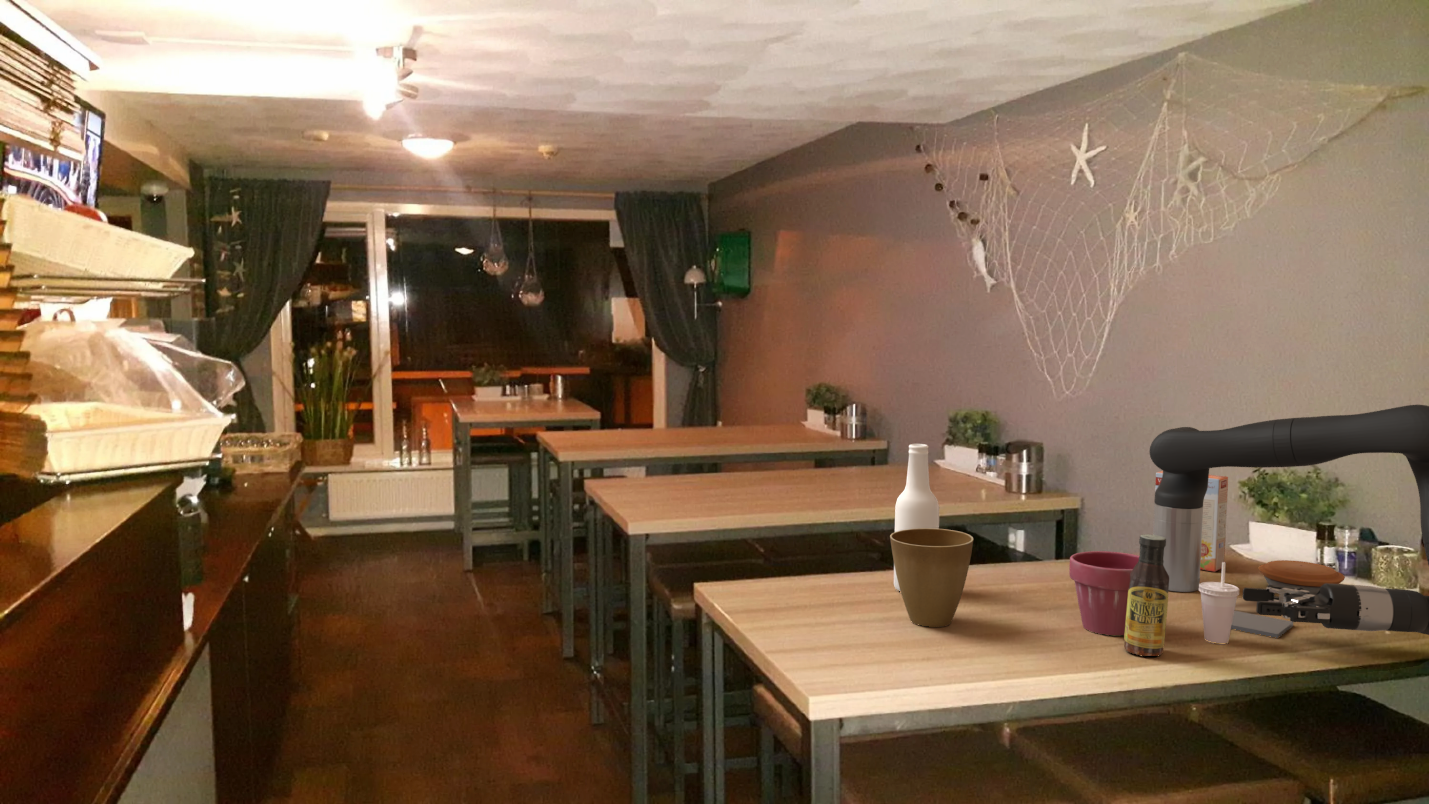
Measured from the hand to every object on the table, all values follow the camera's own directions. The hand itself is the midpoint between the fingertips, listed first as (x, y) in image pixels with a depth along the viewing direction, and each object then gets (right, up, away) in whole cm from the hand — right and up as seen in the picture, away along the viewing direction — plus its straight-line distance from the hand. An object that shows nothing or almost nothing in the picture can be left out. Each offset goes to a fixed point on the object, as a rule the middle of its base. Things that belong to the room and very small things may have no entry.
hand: (1250, 600), depth 177 cm
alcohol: (-51, -4, +33) cm, 61 cm away
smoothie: (-5, -8, +2) cm, 9 cm away
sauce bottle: (-20, -8, -5) cm, 22 cm away
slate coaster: (+6, -7, +10) cm, 14 cm away
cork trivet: (+11, -6, +22) cm, 25 cm away
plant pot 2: (-21, -7, +8) cm, 24 cm away
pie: (+29, -5, +36) cm, 47 cm away
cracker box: (+15, -3, +55) cm, 57 cm away
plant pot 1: (-53, -6, +12) cm, 54 cm away
